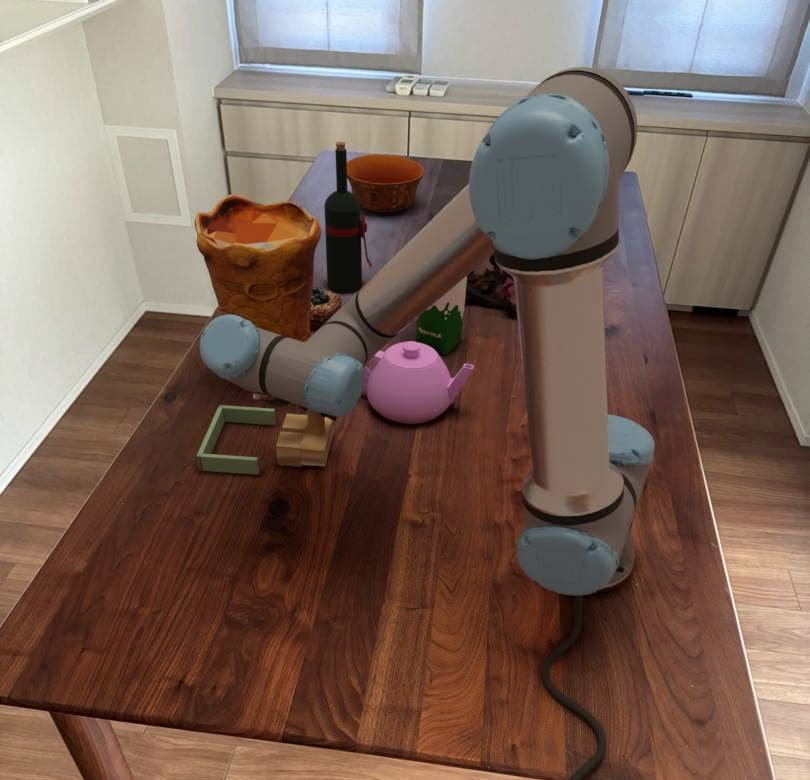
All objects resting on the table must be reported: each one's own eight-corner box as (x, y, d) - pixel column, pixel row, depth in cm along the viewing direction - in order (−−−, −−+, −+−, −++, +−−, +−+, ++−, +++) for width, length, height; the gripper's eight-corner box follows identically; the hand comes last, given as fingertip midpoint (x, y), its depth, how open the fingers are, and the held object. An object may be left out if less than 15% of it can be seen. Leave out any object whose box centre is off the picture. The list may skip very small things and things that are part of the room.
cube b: (307, 448, 135) (305, 428, 132) (283, 446, 135) (282, 427, 132) (311, 434, 137) (309, 415, 135) (288, 432, 138) (286, 413, 135)
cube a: (301, 466, 131) (300, 447, 128) (277, 465, 131) (275, 445, 128) (305, 452, 134) (304, 432, 131) (282, 450, 134) (280, 431, 131)
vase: (201, 397, 145) (171, 235, 124) (233, 341, 159) (211, 188, 138) (314, 408, 143) (303, 246, 122) (336, 351, 158) (330, 197, 137)
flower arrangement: (398, 310, 170) (399, 241, 160) (410, 270, 185) (412, 205, 174) (544, 323, 168) (554, 254, 158) (545, 281, 182) (555, 215, 172)
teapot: (339, 417, 141) (337, 358, 133) (364, 372, 152) (363, 314, 144) (460, 437, 138) (466, 377, 129) (476, 390, 149) (482, 332, 140)
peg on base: (325, 466, 130) (320, 392, 120) (300, 464, 130) (294, 390, 120) (334, 430, 137) (330, 358, 127) (311, 429, 137) (306, 356, 127)
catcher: (258, 474, 129) (256, 460, 127) (199, 470, 130) (196, 456, 127) (276, 422, 140) (274, 408, 138) (221, 419, 140) (219, 404, 138)
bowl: (437, 202, 215) (439, 164, 208) (395, 229, 201) (396, 188, 195) (373, 186, 222) (373, 148, 215) (328, 210, 209) (327, 170, 202)
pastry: (276, 325, 164) (274, 299, 160) (299, 299, 173) (297, 274, 169) (326, 334, 162) (325, 308, 158) (346, 308, 171) (345, 282, 167)
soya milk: (466, 339, 162) (475, 243, 148) (447, 359, 156) (454, 262, 143) (428, 328, 165) (433, 233, 151) (408, 348, 159) (411, 251, 145)
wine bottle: (370, 295, 175) (369, 151, 154) (324, 292, 176) (317, 148, 155) (374, 279, 181) (374, 138, 160) (329, 276, 181) (324, 135, 160)
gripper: (214, 388, 112) (277, 422, 135) (317, 412, 108) (364, 442, 131) (228, 337, 112) (288, 379, 135) (331, 359, 108) (376, 398, 131)
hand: (325, 410), depth 133 cm, fingers closed on peg on base, 3 cm apart
